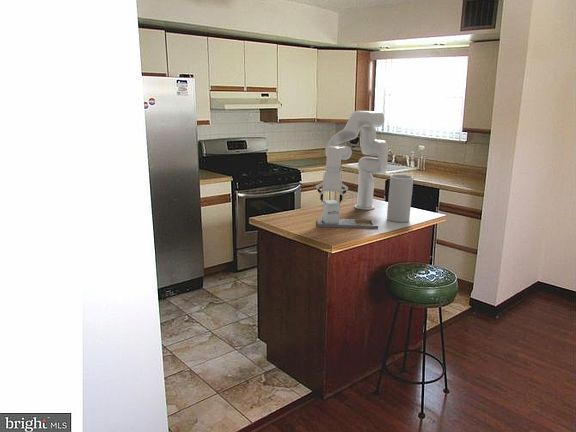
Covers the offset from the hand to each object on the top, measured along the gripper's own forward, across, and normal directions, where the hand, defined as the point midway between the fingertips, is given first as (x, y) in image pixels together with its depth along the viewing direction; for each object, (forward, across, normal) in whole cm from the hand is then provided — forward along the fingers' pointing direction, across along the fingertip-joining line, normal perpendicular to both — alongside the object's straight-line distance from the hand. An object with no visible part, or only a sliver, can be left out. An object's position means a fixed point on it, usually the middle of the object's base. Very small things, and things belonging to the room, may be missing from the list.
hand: (331, 201), depth 245 cm
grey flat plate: (+12, -9, -1) cm, 16 cm away
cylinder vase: (+12, -39, -15) cm, 44 cm away
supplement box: (+13, 0, -1) cm, 13 cm away
